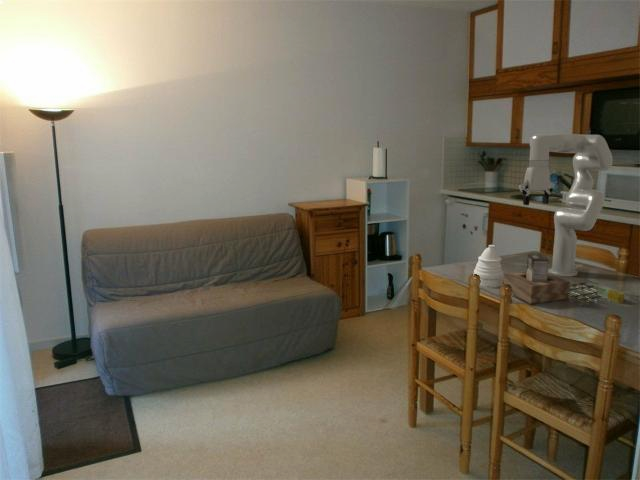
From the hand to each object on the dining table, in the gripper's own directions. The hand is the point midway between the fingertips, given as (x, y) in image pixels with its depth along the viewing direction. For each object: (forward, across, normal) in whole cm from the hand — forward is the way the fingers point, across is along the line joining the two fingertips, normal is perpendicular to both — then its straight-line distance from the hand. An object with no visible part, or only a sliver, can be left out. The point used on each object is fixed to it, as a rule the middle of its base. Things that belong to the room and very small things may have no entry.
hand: (535, 204), depth 223 cm
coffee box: (+36, +8, +14) cm, 39 cm away
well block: (+36, +8, +14) cm, 40 cm away
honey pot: (+37, +16, -8) cm, 41 cm away
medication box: (+37, -19, +26) cm, 49 cm away
